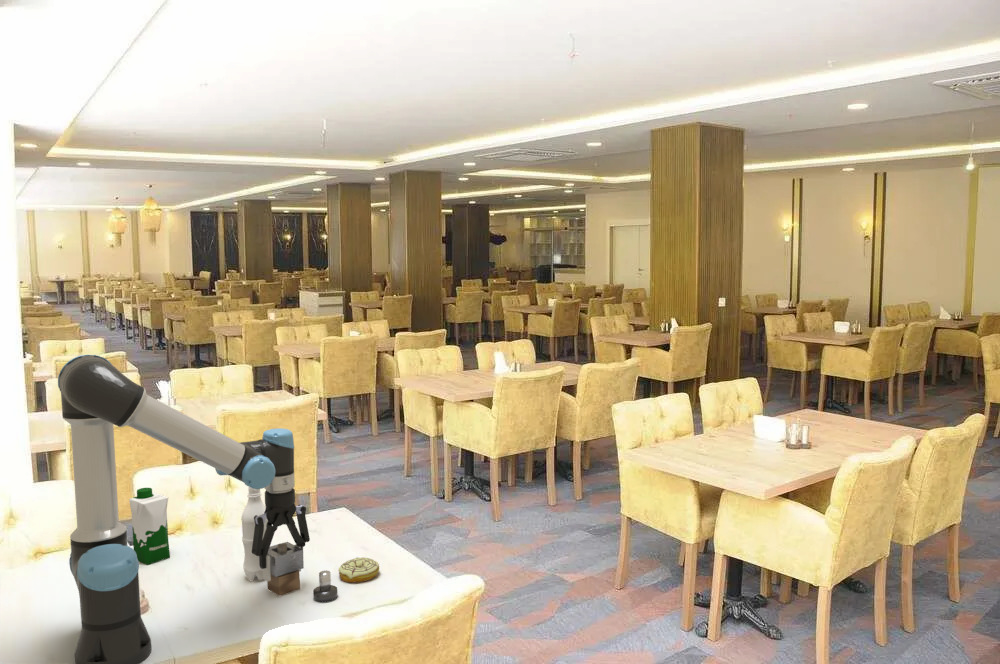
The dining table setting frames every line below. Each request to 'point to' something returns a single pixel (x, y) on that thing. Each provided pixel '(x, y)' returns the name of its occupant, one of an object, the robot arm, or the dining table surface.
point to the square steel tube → (285, 560)
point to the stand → (284, 578)
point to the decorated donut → (358, 570)
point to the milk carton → (150, 526)
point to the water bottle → (252, 533)
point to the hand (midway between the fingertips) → (282, 574)
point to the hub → (325, 588)
